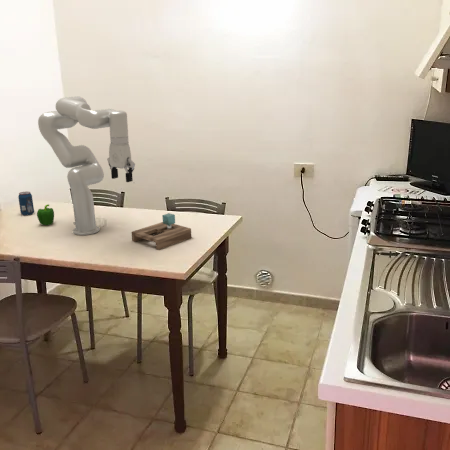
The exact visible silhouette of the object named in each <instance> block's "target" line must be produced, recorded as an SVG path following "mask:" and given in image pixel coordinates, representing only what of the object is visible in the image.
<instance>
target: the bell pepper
mask: <svg viewBox="0 0 450 450" xmlns="http://www.w3.org/2000/svg"><path fill="white" fill-rule="evenodd" d="M36 216H37V220H38V222H39V224H40V225H41V226H50V225H53V223H54V221H55V211H54V208H52V207H50V204H49V203H48V204H45V205H44V208H43V209H42V208H39V209H38V210H37V212H36Z"/></svg>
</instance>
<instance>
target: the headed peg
mask: <svg viewBox="0 0 450 450" xmlns="http://www.w3.org/2000/svg"><path fill="white" fill-rule="evenodd" d="M162 222H163V224H166V225H167V229H171V228H172V226H171V224H176V214H174V213H165V214H162Z"/></svg>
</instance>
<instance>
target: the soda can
mask: <svg viewBox="0 0 450 450" xmlns="http://www.w3.org/2000/svg"><path fill="white" fill-rule="evenodd" d="M17 198H18V205H19V209H20V214H21V215H22V216H26V217H27V216H28V217H29V216H33V214H34V213H35V207H34V202H33V195H32V193H31V191H21V192H19V193H18V197H17Z"/></svg>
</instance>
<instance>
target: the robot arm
mask: <svg viewBox="0 0 450 450" xmlns="http://www.w3.org/2000/svg"><path fill="white" fill-rule="evenodd" d="M54 106H55V110H53V111H47V112H44V113H42V114H40V116H39V117H38V119H37V127H38V129H39V132H40V135H41V136H42V137H43V139H44V140H45V141H46V142H47V143H48V145H49V146H50V147H51V149H52V150H53V153H54V154H55V156H56V157H57V159H58V160H59V162H60V164H61V165H62V166H63V167H64V168H67V169H68V168H69V170H68V171H67V176H66V178H67V182H68V185H69V187H70V191H71V200H72V208H73V214H74V215H73V216H74V222H73V225H74V226H75V228H73V230H72V233H73V234H74V235H76V236H89V235H90V236H91V235H93V234H94V235H95V234H97V233H98V232H99V231H100V230H101V229H100V226H98V225H97V222H96V213H95V204H94V195H93V193H92V190H91V189H90V188H89V187H88V186H90V185H94V184H98V183H101V182H102V181H103V180H104V175H105V172H104V170H103V168H102V165H101V164H100V162H99V161H98V159H97V158H96V156H95V155H94V153H93V151H92V150H91V149H90V148H89V147H88V146H86V145H84V144H83V145H82V144H81V145H72V144H71V142H70V140H69V139H68V137H67V136H66V135H65V134H63V133H62V132H60V131H59V130H63V129H69V128H73V127H75V126H76V125H77V124H79V125H81V126H82V127H85V128H88V129H93V130H96V129H102V128H103V129H104V128H109V137H110V143H109V145H108V146H109V148H108V157H107V163H108V166H109V169H110V171H111V172H110V174H111V179H112V180H113V179H118V178H119V169H124V170H125V172H126V173H125V182H126V183H130V182H131V183H132V182H133V173H134V171H135V167H136V163H135V161H133V160H132V152H131V147H130V144H129V141H130V140H129V128H128V125H129V124H128V114H127V112H126V111H124V110H116V109H112V108H106V109H95V110H92V108H91V107H90V104H89V103H88V102H87V100H86V99H84V98H83V97H81V96H68V97H67V96H65V97H62V98H59V99H57V101H56V102H55V105H54ZM70 168H71V169H70ZM118 168H119V169H118Z"/></svg>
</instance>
